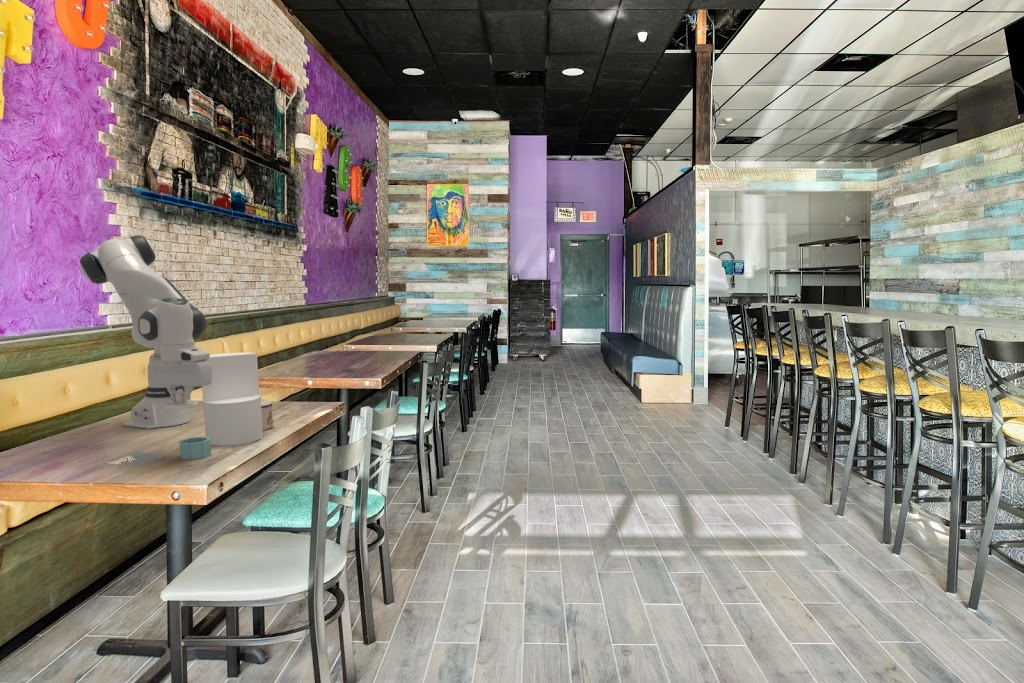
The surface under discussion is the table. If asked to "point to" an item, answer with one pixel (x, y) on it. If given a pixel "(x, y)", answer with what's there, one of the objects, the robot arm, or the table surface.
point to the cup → (195, 448)
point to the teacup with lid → (266, 414)
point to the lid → (180, 403)
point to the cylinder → (233, 400)
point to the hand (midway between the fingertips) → (180, 400)
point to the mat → (142, 458)
